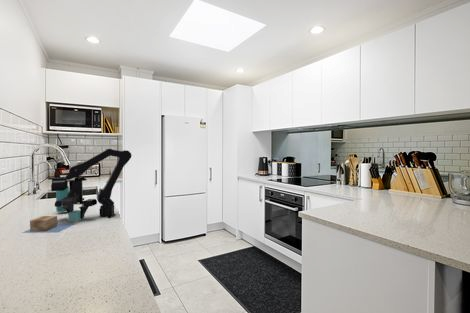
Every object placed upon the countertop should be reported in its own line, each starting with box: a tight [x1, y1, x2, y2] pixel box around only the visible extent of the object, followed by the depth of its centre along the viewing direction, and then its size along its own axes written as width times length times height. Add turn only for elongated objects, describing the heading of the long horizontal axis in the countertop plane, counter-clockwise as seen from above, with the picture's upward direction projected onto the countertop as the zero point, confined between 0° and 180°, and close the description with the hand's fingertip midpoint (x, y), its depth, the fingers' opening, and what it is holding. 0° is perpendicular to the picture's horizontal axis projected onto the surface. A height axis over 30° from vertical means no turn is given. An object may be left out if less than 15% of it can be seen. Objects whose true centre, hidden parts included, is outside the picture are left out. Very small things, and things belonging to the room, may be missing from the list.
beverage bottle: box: [55, 185, 69, 213], centre depth 139 cm, size 6×7×20 cm
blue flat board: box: [21, 223, 76, 234], centre depth 110 cm, size 16×12×1 cm
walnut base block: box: [29, 215, 58, 231], centre depth 109 cm, size 7×7×5 cm
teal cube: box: [67, 209, 85, 222], centre depth 123 cm, size 5×5×5 cm
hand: (76, 218), depth 124 cm, fingers closed on teal cube, 5 cm apart
